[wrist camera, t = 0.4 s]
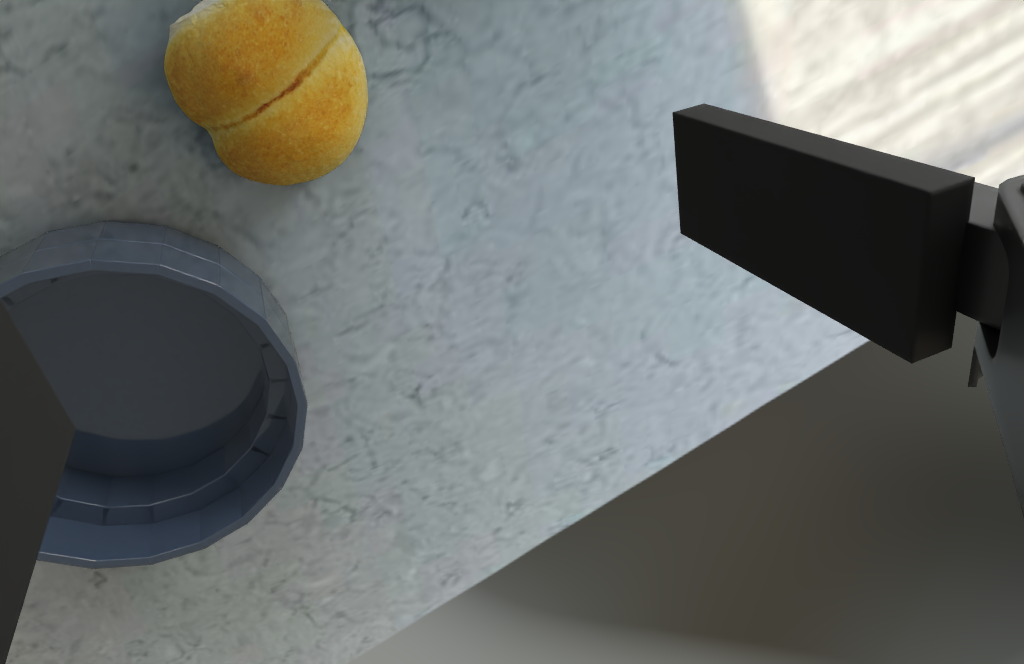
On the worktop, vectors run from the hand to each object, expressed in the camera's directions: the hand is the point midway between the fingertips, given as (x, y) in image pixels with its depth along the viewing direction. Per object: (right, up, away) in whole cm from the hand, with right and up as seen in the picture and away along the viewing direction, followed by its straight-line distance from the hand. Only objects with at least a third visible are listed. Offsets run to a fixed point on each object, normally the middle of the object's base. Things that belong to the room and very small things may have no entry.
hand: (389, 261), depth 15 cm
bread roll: (-9, +11, +21) cm, 25 cm away
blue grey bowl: (-17, -3, +24) cm, 30 cm away
